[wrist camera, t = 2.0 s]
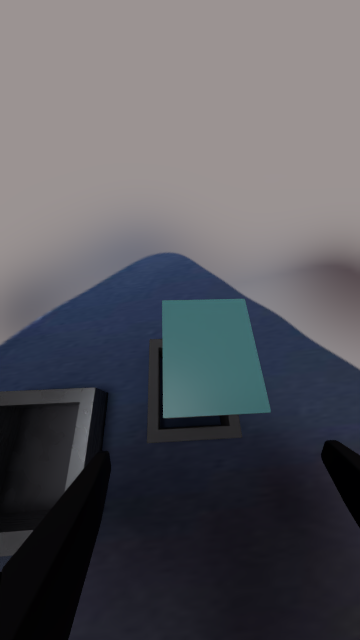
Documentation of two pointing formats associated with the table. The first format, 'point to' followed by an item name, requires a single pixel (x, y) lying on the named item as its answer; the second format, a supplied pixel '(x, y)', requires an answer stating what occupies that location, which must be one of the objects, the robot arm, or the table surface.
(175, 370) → the plug
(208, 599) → the table surface
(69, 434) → the port
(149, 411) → the frame
